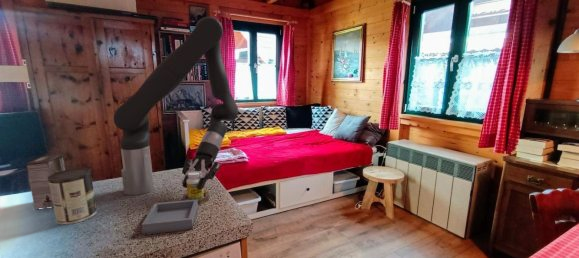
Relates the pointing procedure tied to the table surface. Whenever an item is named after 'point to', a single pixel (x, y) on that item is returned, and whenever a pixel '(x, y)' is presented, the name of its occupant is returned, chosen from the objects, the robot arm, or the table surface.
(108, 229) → the table surface
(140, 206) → the table surface
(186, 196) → the holder ring
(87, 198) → the coffee can
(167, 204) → the tray
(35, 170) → the coffee box
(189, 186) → the supplement bottle
